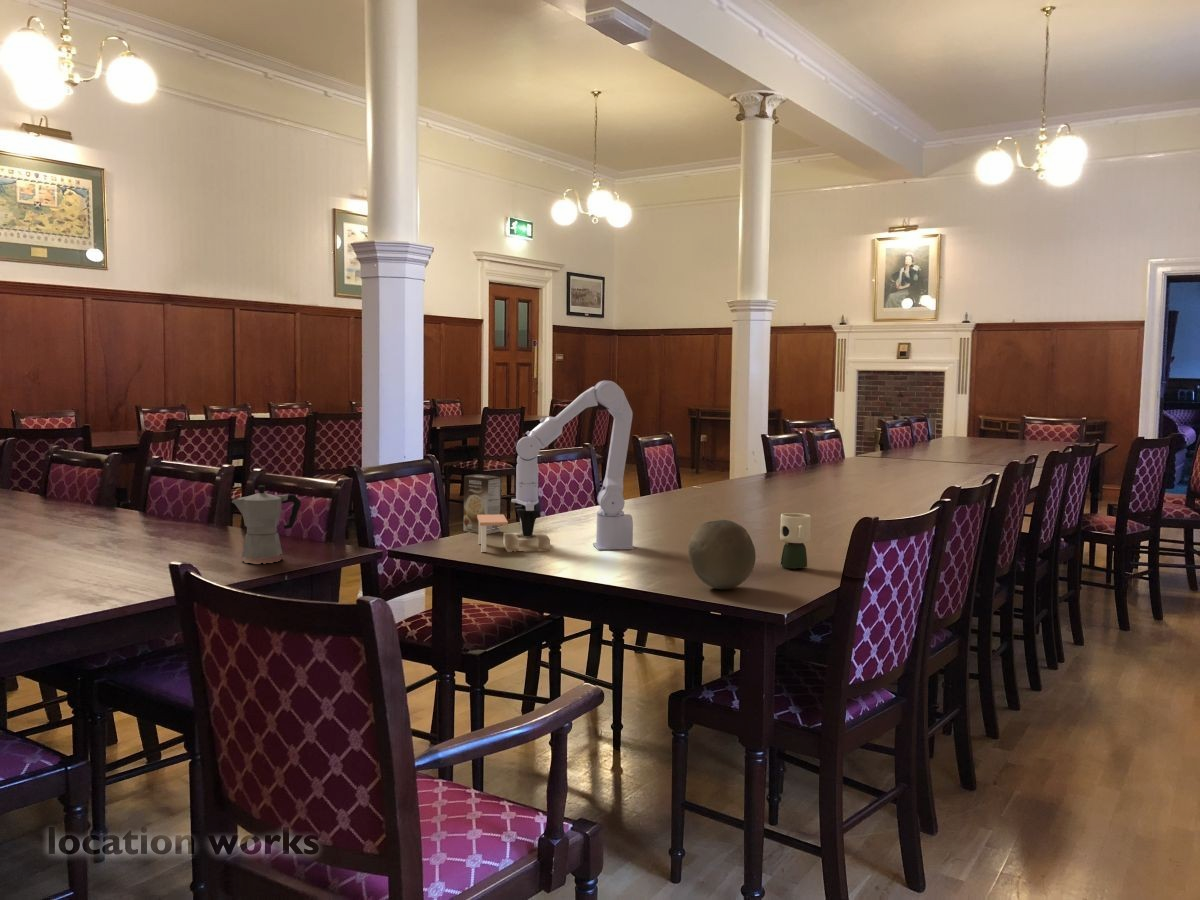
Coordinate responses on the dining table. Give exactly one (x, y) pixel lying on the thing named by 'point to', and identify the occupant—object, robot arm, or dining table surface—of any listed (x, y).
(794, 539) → the character mug
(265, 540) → the coffeepot
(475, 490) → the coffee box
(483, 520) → the peach and white stand
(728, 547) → the cantaloupe
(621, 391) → the robot arm
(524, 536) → the peg
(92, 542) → the dining table surface
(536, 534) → the socket block
